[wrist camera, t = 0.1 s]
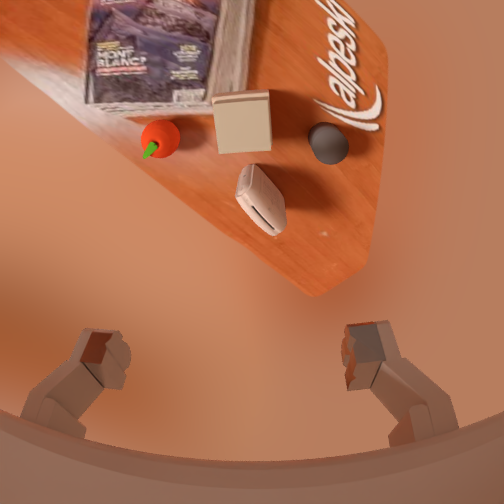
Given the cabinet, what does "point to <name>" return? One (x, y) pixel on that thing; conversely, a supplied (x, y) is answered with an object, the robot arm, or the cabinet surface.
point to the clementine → (160, 139)
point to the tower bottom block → (243, 95)
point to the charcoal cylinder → (328, 143)
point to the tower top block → (242, 124)
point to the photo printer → (261, 200)
